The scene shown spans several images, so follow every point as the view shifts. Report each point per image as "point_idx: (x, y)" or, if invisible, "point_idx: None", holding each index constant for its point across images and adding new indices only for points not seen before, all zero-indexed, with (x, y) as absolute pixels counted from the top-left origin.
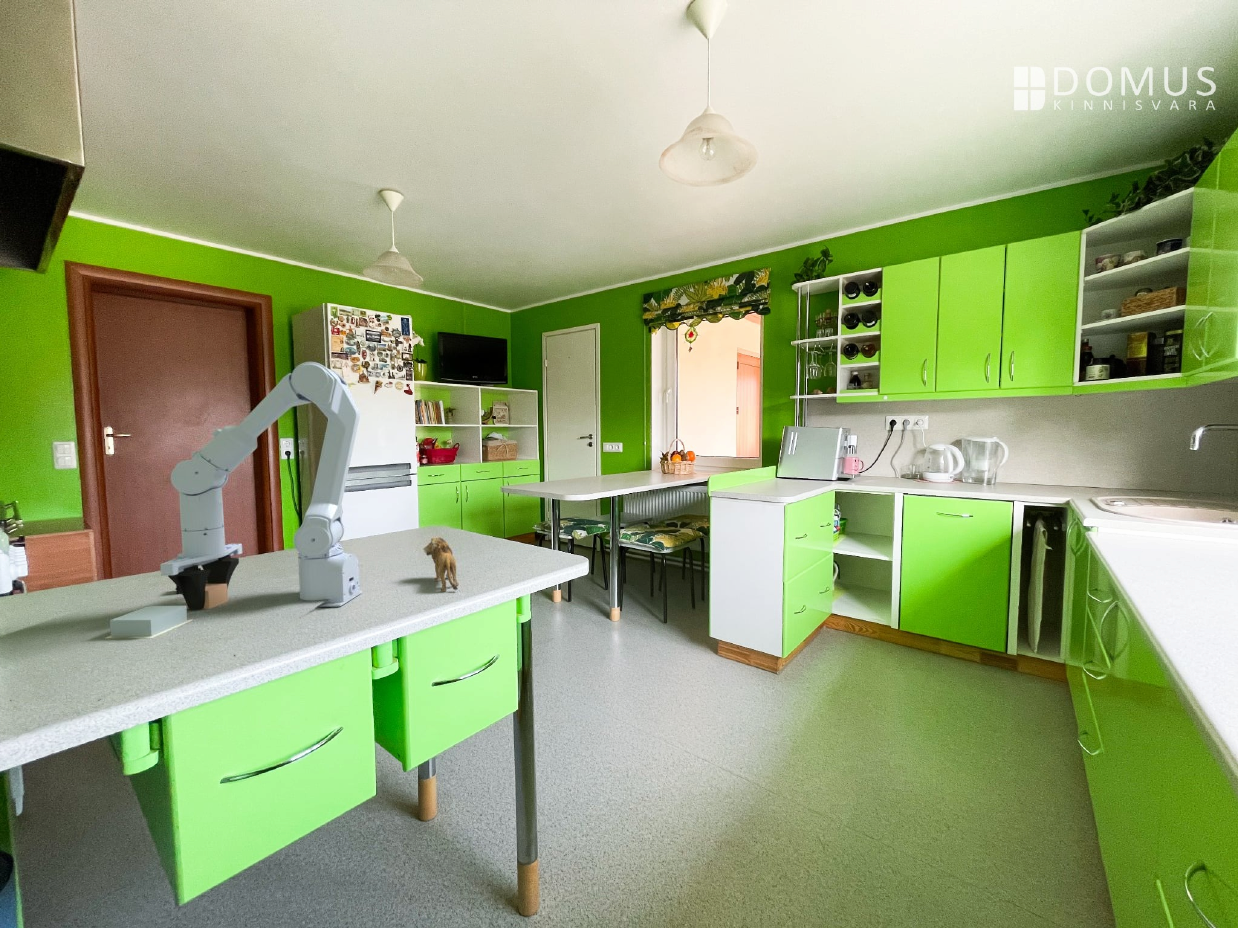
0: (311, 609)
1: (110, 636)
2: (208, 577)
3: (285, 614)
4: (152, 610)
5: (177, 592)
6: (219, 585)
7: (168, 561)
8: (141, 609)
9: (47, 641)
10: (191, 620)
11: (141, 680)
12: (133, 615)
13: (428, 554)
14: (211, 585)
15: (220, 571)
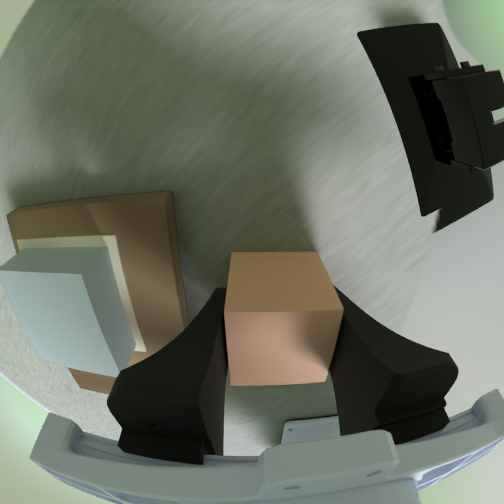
0: (272, 441)
1: (24, 245)
2: (353, 343)
3: (247, 428)
4: (64, 322)
5: (424, 76)
6: (302, 376)
7: (66, 476)
8: (56, 280)
9: (42, 40)
10: (142, 350)
11: (26, 374)
12: (29, 300)
13: None
14: (307, 353)
15: (347, 406)
